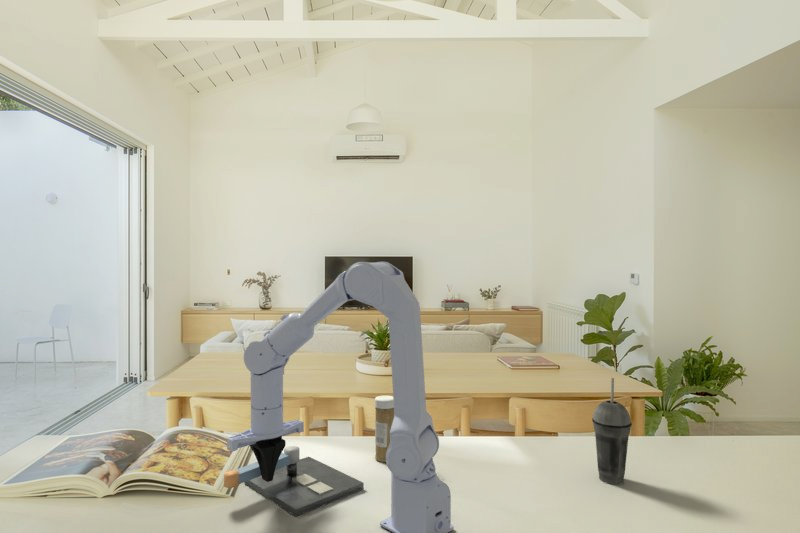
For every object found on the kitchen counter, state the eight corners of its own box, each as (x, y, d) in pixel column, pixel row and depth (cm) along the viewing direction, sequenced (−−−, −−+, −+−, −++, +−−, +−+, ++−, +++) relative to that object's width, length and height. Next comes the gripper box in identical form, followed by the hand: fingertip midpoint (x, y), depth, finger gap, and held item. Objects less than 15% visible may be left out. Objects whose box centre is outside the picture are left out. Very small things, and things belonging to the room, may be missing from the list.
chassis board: (363, 489, 98) (363, 471, 98) (296, 516, 87) (295, 496, 87) (308, 462, 111) (308, 446, 111) (244, 483, 100) (244, 465, 100)
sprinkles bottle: (399, 460, 112) (399, 398, 112) (381, 464, 109) (381, 401, 109) (388, 453, 116) (388, 393, 116) (370, 457, 113) (370, 396, 113)
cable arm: (229, 489, 89) (229, 475, 89) (220, 484, 91) (220, 470, 91) (302, 461, 102) (302, 448, 102) (292, 457, 104) (292, 445, 104)
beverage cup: (589, 482, 101) (590, 380, 101) (594, 469, 107) (594, 373, 107) (629, 490, 97) (630, 385, 97) (632, 476, 104) (633, 377, 104)
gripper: (289, 393, 102) (289, 462, 102) (218, 408, 92) (219, 484, 92) (310, 400, 97) (310, 472, 97) (237, 417, 87) (238, 498, 87)
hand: (267, 479), depth 94 cm, fingers closed
